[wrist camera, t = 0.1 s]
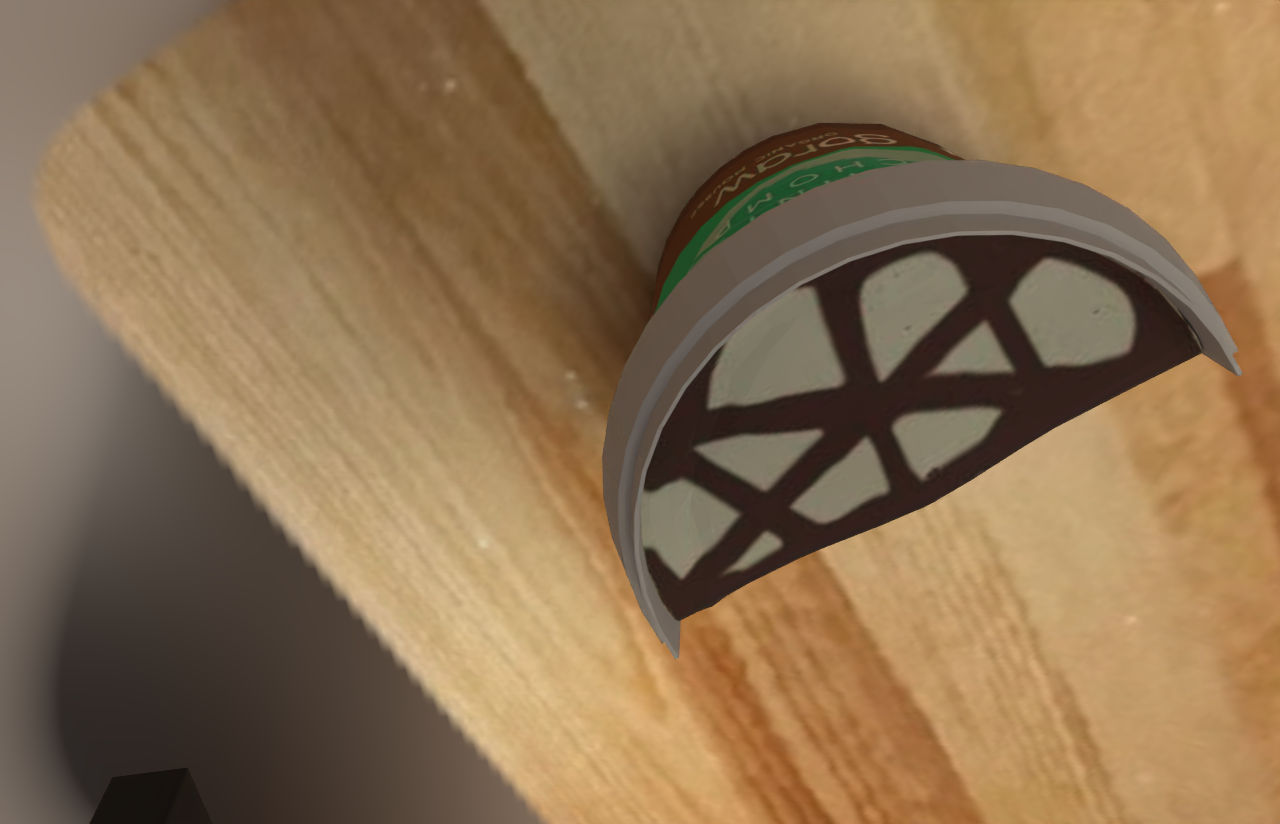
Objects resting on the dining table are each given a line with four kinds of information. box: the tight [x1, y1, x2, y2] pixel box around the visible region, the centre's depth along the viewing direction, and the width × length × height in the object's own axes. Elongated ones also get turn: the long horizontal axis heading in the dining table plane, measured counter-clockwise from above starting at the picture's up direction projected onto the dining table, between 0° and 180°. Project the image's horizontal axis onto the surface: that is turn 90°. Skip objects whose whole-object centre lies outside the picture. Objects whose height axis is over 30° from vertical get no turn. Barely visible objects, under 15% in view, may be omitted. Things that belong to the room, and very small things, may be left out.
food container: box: [602, 123, 1243, 659], centre depth 24 cm, size 12×6×10 cm, turn 122°
